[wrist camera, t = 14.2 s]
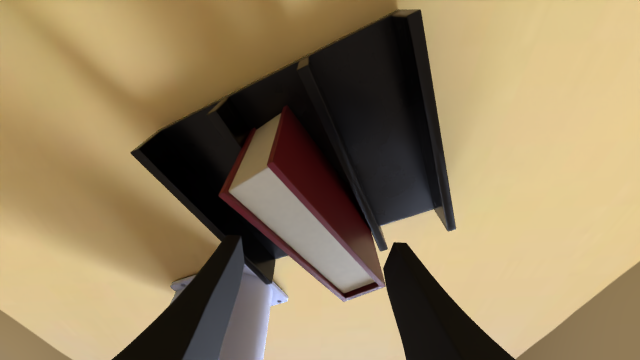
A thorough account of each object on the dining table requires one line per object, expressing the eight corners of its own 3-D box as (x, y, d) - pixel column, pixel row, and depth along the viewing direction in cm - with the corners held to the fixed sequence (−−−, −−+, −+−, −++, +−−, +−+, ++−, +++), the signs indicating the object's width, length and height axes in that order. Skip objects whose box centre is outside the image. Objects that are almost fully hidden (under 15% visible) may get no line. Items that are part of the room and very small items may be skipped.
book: (334, 223, 20) (343, 302, 15) (251, 129, 15) (217, 195, 10) (365, 209, 19) (386, 286, 14) (287, 104, 14) (272, 161, 9)
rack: (271, 255, 23) (266, 285, 20) (158, 130, 15) (129, 153, 13) (438, 202, 20) (456, 229, 17) (399, 8, 12) (421, 8, 10)
